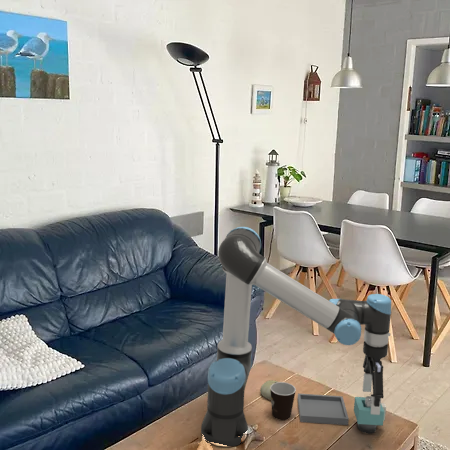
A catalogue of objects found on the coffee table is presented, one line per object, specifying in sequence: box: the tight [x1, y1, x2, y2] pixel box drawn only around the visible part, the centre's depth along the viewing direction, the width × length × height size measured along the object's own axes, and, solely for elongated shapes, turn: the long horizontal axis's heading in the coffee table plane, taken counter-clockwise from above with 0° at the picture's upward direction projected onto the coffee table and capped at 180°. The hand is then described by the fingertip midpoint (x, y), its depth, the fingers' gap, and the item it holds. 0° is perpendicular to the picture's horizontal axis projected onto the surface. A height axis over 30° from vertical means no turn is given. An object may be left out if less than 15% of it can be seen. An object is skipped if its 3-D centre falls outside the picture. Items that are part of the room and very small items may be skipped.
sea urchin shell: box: [259, 380, 279, 401], centre depth 194 cm, size 9×8×8 cm
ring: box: [353, 396, 387, 426], centre depth 175 cm, size 9×8×5 cm
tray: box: [297, 393, 350, 426], centre depth 185 cm, size 16×14×2 cm
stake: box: [357, 395, 378, 435], centre depth 175 cm, size 6×6×11 cm
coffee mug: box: [270, 381, 297, 421], centre depth 183 cm, size 12×9×10 cm
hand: (370, 402), depth 174 cm, fingers open, 13 cm apart
